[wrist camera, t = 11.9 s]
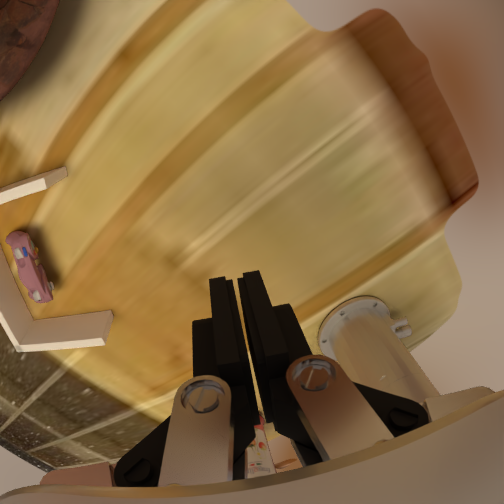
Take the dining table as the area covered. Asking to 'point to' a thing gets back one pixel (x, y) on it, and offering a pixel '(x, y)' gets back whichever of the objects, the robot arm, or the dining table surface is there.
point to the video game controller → (30, 267)
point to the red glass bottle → (259, 454)
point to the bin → (15, 310)
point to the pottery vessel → (21, 37)
